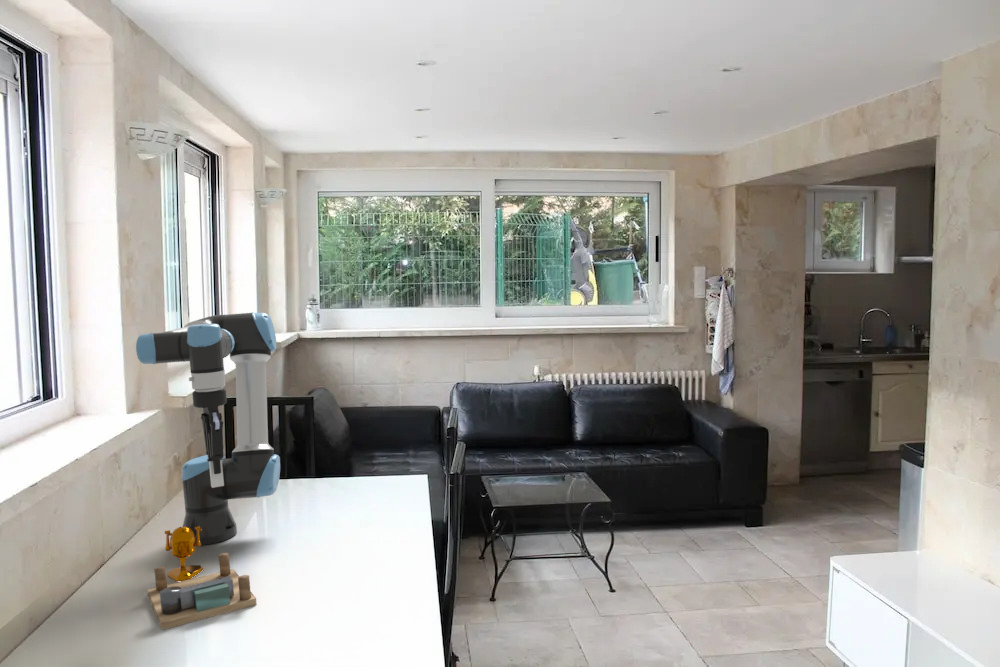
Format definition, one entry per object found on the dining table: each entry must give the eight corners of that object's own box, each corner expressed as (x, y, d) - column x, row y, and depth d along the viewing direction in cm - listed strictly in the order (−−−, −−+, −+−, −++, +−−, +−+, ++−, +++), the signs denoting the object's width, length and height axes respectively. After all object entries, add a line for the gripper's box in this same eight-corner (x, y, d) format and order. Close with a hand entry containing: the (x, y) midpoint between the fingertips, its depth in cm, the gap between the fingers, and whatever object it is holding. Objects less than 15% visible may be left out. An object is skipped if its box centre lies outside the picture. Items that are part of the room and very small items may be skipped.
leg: (163, 616, 172) (161, 596, 171) (159, 609, 175) (158, 589, 175) (234, 597, 180) (233, 578, 179) (230, 590, 183) (228, 572, 183)
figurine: (205, 563, 207) (201, 518, 206) (201, 578, 197) (197, 531, 195) (170, 568, 205) (165, 523, 203) (164, 584, 194) (160, 536, 193)
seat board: (147, 595, 188) (145, 569, 187) (234, 574, 198) (231, 549, 197) (162, 629, 169) (159, 600, 168) (256, 604, 179) (254, 576, 179)
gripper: (187, 388, 192) (196, 483, 194) (197, 394, 180) (206, 495, 183) (219, 384, 195) (227, 477, 197) (231, 390, 184) (240, 488, 186)
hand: (217, 486), depth 190 cm, fingers closed
